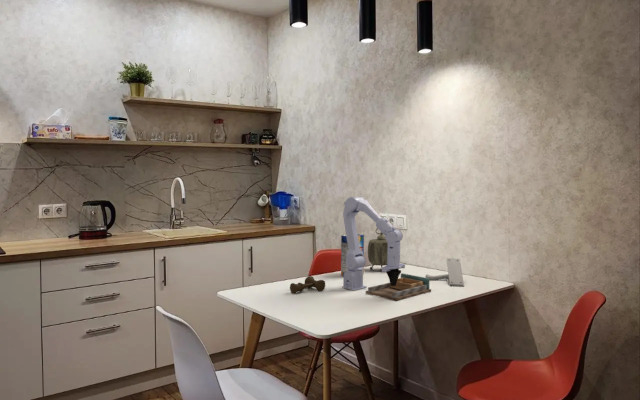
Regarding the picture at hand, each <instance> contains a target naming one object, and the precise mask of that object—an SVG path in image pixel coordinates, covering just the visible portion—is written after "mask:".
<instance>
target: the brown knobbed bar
mask: <svg viewBox="0 0 640 400" xmlns="http://www.w3.org/2000/svg"><path fill="white" fill-rule="evenodd" d="M312 288H315V289H316V291H317V292H322V291H324V290H325V288H326V281H325V280H324V279H319V280H315V278H314V276H312V275H308V276H307V277H305V278H304V283H302V282H297V283H294V282H293V283H290V285H289V291H290V292H291V294H293V295H295V294H296V295H297V293H298V292H300V293H301V292H303V291H304V290H305V289H312Z"/></svg>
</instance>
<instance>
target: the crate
mask: <svg viewBox="0 0 640 400" xmlns="http://www.w3.org/2000/svg"><path fill="white" fill-rule="evenodd" d="M422 285H423V281H418V280H413V279H408V278H401V277H400V278H399V277H398V280H397V283H396V286H391V285H390V287H392V288H396V289H401V290H406V289H410V288H414V287H418V286H422Z"/></svg>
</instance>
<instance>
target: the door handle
mask: <svg viewBox="0 0 640 400" xmlns="http://www.w3.org/2000/svg"><path fill="white" fill-rule="evenodd" d="M446 265H447V274H439V275H430V274H425V276H424V278H430V281H439V280H448V283H449V286H450V287H464V285H465V284H464V283H465V282H464V278H463V271H462V264H461V259H460V258H451V257H450V258H449V257H446Z"/></svg>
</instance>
